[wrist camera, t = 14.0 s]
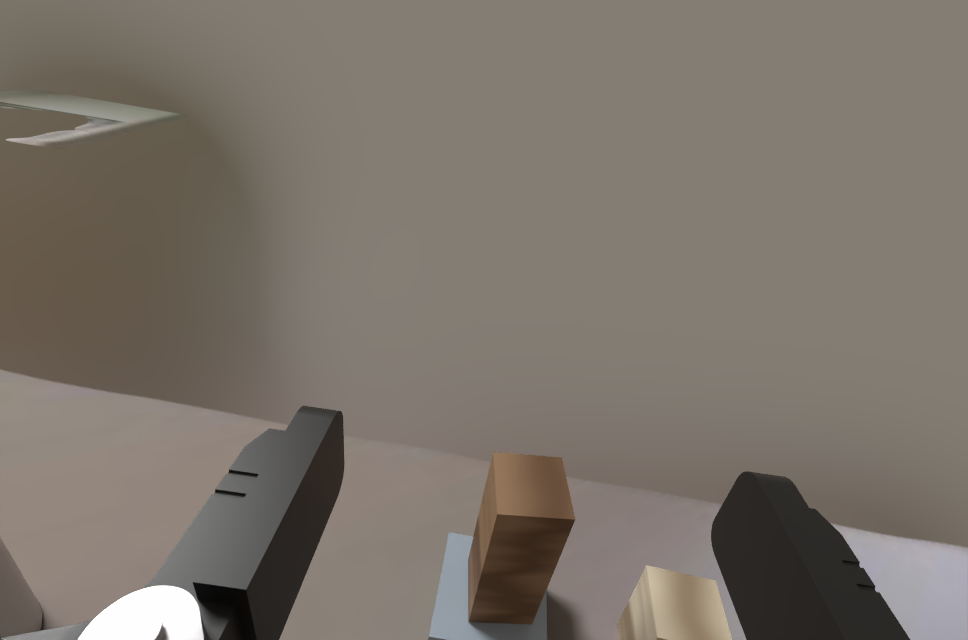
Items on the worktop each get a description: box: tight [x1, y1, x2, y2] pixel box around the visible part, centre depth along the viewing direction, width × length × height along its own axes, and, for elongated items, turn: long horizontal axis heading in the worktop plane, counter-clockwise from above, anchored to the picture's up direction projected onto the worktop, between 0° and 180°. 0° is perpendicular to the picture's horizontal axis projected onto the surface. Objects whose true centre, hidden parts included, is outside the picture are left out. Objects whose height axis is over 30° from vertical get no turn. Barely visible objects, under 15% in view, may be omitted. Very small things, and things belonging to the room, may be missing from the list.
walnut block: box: [468, 452, 575, 625], centre depth 32 cm, size 4×4×12 cm
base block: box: [429, 532, 547, 640], centre depth 37 cm, size 8×8×5 cm
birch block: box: [617, 565, 732, 640], centre depth 35 cm, size 5×5×8 cm
